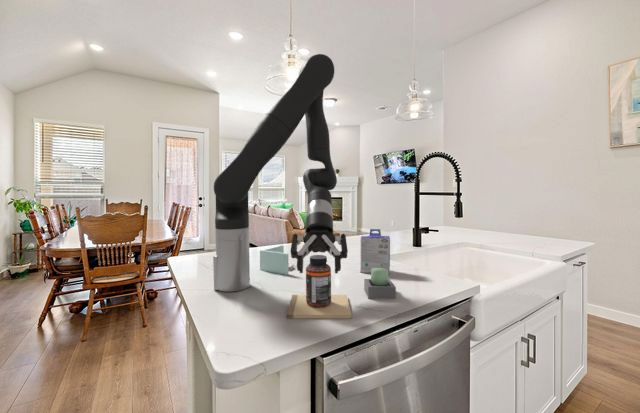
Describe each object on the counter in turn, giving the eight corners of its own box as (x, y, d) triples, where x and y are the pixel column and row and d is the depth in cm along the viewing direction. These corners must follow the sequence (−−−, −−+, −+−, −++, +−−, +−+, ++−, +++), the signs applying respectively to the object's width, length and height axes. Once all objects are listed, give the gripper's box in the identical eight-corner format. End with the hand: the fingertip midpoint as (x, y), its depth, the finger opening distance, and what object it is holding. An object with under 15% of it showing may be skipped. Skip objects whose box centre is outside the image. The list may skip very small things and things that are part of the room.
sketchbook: (286, 318, 62) (286, 314, 62) (292, 298, 74) (292, 294, 74) (351, 318, 62) (351, 314, 62) (346, 297, 74) (346, 294, 74)
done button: (372, 285, 75) (372, 272, 75) (369, 280, 79) (369, 267, 79) (389, 285, 75) (389, 272, 75) (385, 280, 79) (385, 267, 79)
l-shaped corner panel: (286, 276, 96) (286, 254, 95) (260, 271, 102) (259, 250, 102) (307, 268, 106) (307, 248, 105) (281, 264, 112) (281, 245, 112)
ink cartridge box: (389, 270, 101) (389, 229, 100) (390, 274, 95) (390, 231, 95) (361, 268, 103) (361, 228, 102) (360, 273, 97) (360, 230, 97)
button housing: (368, 298, 74) (368, 287, 74) (364, 289, 81) (364, 278, 81) (395, 298, 74) (395, 287, 73) (389, 289, 81) (389, 278, 80)
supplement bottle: (305, 299, 71) (305, 254, 71) (329, 298, 72) (329, 253, 71) (306, 308, 65) (306, 259, 65) (332, 307, 66) (332, 258, 65)
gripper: (292, 210, 77) (287, 263, 66) (345, 210, 77) (349, 263, 66) (294, 228, 83) (290, 279, 72) (344, 227, 83) (347, 279, 72)
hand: (318, 271), depth 69 cm, fingers open, 8 cm apart
